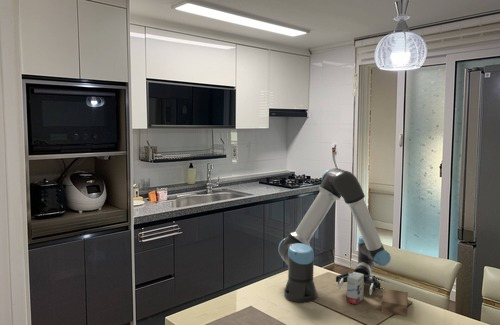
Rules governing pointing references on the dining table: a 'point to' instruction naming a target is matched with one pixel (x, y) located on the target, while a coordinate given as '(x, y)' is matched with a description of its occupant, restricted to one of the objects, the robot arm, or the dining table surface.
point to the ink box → (355, 287)
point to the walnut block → (395, 302)
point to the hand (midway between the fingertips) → (354, 288)
